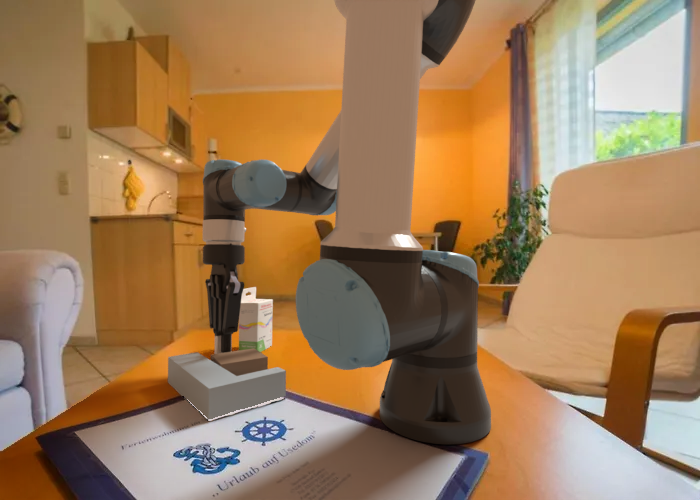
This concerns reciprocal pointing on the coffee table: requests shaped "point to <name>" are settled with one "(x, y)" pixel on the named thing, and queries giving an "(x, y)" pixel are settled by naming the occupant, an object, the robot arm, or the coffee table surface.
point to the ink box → (255, 321)
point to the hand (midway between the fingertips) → (222, 368)
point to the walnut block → (241, 361)
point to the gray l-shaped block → (222, 385)
